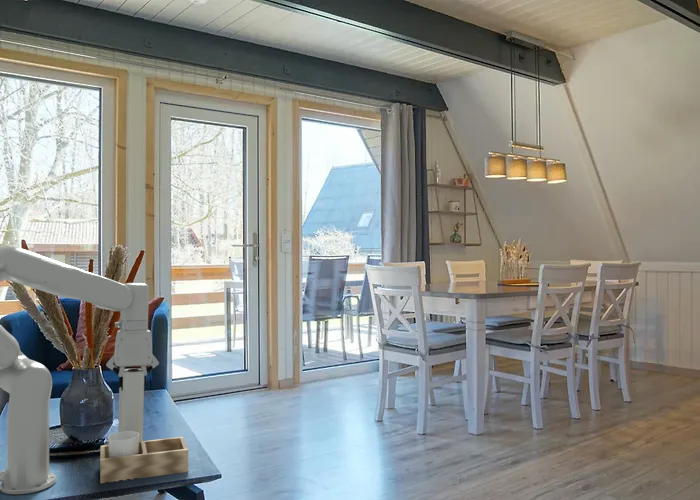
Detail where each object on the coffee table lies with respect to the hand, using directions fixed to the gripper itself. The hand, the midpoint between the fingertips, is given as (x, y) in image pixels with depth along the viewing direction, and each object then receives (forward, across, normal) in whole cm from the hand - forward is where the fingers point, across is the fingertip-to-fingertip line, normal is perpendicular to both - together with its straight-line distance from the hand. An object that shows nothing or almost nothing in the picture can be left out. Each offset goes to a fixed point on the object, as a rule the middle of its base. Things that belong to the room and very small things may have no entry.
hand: (132, 388), depth 174 cm
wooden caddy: (+20, +3, -10) cm, 23 cm away
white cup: (+20, -2, -10) cm, 23 cm away
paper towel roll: (+16, 0, 0) cm, 16 cm away
